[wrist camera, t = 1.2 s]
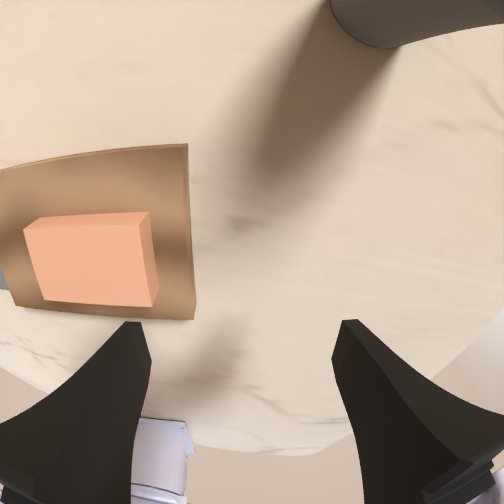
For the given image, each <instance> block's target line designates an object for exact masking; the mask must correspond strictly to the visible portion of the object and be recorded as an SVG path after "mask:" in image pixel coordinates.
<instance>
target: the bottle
mask: <svg viewBox="0 0 504 504" xmlns="http://www.w3.org/2000/svg"><path fill="white" fill-rule="evenodd" d="M330 2H331V8H332V11H333V13H334V15H335V17H336V19H337V21H338V22H339V23H340V25H341V26H342V27H343V28H344V29H345V30H346V31H347V32H348V33H349V34H350V35H351V36H353V37H354V38H356V39H357V40H359V41H360V42H362V43H364V44H367V45H369V46H372V47H376V48H384V49H386V48H393V47H398V46H401V45H405V44H408V43H412V42H415V41H419V40H423V39H426V38H430V37H434V36H438V35H442V34H447V33H451V32H456V31H460V30H465V29H471V28H476V27H482V26H488V25H495V24H503V23H504V0H330Z"/></svg>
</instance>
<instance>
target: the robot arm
mask: <svg viewBox="0 0 504 504" xmlns="http://www.w3.org/2000/svg"><path fill="white" fill-rule="evenodd" d="M331 360H332V364H333V369H334V374H335V379H336V383H337V386H338V388H339V391H340V394H341V397H342V400H343V403H344V406H345V408H346V411H347V414H348V417H349V420H350V423H351V426H352V428H353V432H354V435H355V439H356V444H357V449H358V454H359V459H360V466H361V473H362V481H363V490H364V504H504V466H503V467H501V468H500V469H498V470H497V471H496V472H494V473H493V474H492V473H491V471H490V469H491V468H492V467H493V466H494V464H493V462H492V459H493V458H494V457H495V456H496V455H498V454H499V453H500V452H501V451H502V450H504V415H501V414H498V413H495V412H491V411H488V410H485V409H483V408H480V407H478V406H475V405H473V404H471V403H468V402H466V401H464V400H462V399H460V398H458V397H457V396H455V395H453V394H451V393H449V392H447V391H446V390H444V389H442V388H441V387H439V386H437V385H436V384H434V383H433V382H431V381H430V380H428V379H427V378H426V377H424V376H423V375H421V374H420V373H419V372H417V371H416V370H415V369H414V368H412V367H411V366H410V365H408V364H407V363H406V362H405V361H404V360H402V359H401V358H400V357H399V356H398V355H397V354H395V353H394V352H393V351H392V350H391V349H390V348H389V347H388V346H386V345H385V344H384V343H383V342H382V341H381V340H380V339H379V338H378V337H377V336H376V335H374V334H373V333H372V332H371V331H370V330H369V329H368V328H367V327H366V326H365V325H364V324H362V323H361V322H360V321H359V320H358V319H352V320H342V323H341V327H340V330H339V334H338V338H337V341H336V344H335V348H334V351H333V355H332V358H331ZM151 362H152V361H151V357H150V354H149V350H148V347H147V343H146V340H145V336H144V332H143V329H142V325H141V322H129V321H125V322H124V323H123V324H122V325H121V326H120V327H119V328H118V329H117V331H116V332H115V333H114V334H113V335H112V336H111V337H110V338H109V339H108V340H107V341H106V342H105V343H104V344H103V345H102V347H101V348H100V349H99V350H98V351H97V352H96V353H95V354H94V355H93V356H92V357H91V358H90V359H89V360H88V361H87V362H86V363H85V364H84V365H83V366H82V367H81V368H80V369H79V370H78V371H77V372H76V373H75V374H74V375H73V376H71V377H70V378H69V379H68V380H67V381H66V382H65V383H63V384H62V385H61V386H60V387H58V388H57V389H56V390H55V391H53V392H52V393H51V394H50V395H48V396H47V397H45V398H44V399H42V400H41V401H39V402H38V403H36V404H35V405H33V406H32V407H31V408H29V409H27V410H26V411H24V412H22V413H20V414H19V415H17V416H15V417H13V418H11V419H9V420H7V421H5V422H3V423H1V424H0V483H1V484H2V485H4V487H3V490H1V489H0V504H190V503H187V497H183V493H184V491H185V489H186V474H187V459H188V455H194V454H195V450H194V447H193V444H192V441H191V438H190V435H189V432H188V429H187V426H186V423H184V422H179V421H166V420H156V419H147V418H140V415H141V411H142V407H143V403H144V399H145V396H146V392H147V388H148V383H149V377H150V369H151Z"/></svg>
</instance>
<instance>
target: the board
mask: <svg viewBox="0 0 504 504" xmlns="http://www.w3.org/2000/svg"><path fill="white" fill-rule="evenodd" d="M127 212H149V213H150V223H151V232H152V241H153V249H154V257H155V264H156V271H157V277H158V284H159V290H158V293H157V295H156V298H155V301H154V303H153V306H152V307H134V306H115V305H99V304H85V303H72V302H61V301H50V300H44V297H43V295H42V292H41V289H40V286H39V283H38V280H37V277H36V274H35V271H34V268H33V265H32V261H31V258H30V255H29V251H28V247H27V244H26V240H25V236H24V232H23V229H24V228H26V227H27V226H29V225H30V224H31V223H33V222H34V221H36V220H37V219H39V218H41V217H54V216H69V215H85V214H104V213H127ZM0 265H1V268H2V271H3V274H4V277H5V279H6V282H7V285H8V288H9V290H10V293H11V295H12V298H13V300H14V303H15V305H16V306H21V307H28V308H35V309H43V310H51V311H60V312H70V313H80V314H91V315H103V316H116V317H132V318H151V319H177V320H194V314H195V308H196V292H195V280H194V268H193V254H192V239H191V222H190V201H189V172H188V144H167V145H152V146H140V147H129V148H119V149H111V150H102V151H95V152H88V153H81V154H74V155H68V156H62V157H57V158H51V159H46V160H41V161H36V162H31V163H27V164H22V165H18V166H14V167H10V168H6V169H2V170H0Z"/></svg>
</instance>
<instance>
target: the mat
mask: <svg viewBox="0 0 504 504" xmlns="http://www.w3.org/2000/svg"><path fill="white" fill-rule="evenodd" d="M0 288H2V289H9V288H8V285H7V282H6V279H5V277H4V274H3V271H2V268H1V265H0Z"/></svg>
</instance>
